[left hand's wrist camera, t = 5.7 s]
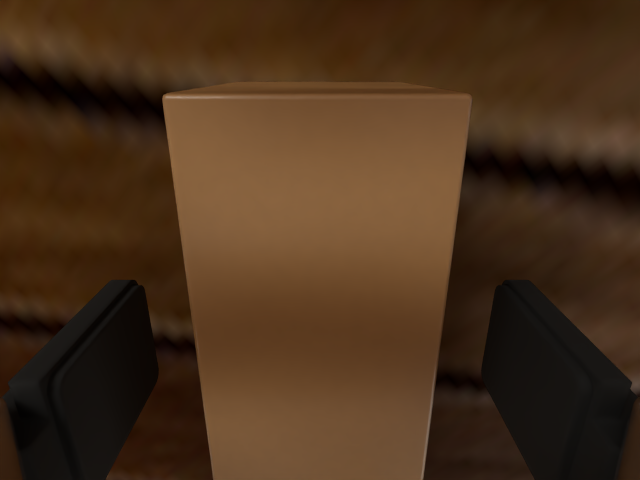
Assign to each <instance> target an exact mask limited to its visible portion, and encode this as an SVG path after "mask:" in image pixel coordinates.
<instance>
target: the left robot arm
mask: <svg viewBox="0 0 640 480" xmlns="http://www.w3.org/2000/svg"><path fill="white" fill-rule="evenodd" d="M158 371H159V370H158V363H157V357H156V351H155V346H154V340H153V334H152V328H151V323H150V317H149V311H148V305H147V300H146V294H145V289H144V287H143V286H142V285H138V284H137V282H136V281H135V280H111V281H110V282H109V283H108V284H107V285H106V286H105V287H104V288H103V289H102V290H101V291H100V292H99V293H97V294H96V295H95V296H94V297H93V298H92V299H91V300H90V301H89V302H88V303H87V304H86V305H85V306H84V307H83V308H82V309H81V310H80V311H79V312H78V313H77V314H76V315H75V316H74V317H73V318H72V319H71V320H70V321H69V322H68V323H67V324H66V325H65V326H64V327H63V328H62V329H61V330H60V331H59V332H58V333H57V334H56V335H55V336H54V337H53V338H52V339H51V340H50V341H49V342H48V343H47V344H46V345H45V346H44V347H43V348H42V349H41V350H40V351H39V352H38V353H37V354H36V355H35V356H34V357H33V358H32V359H31V360H30V361H29V362H28V363H27V364H26V365H25V366H24V367H23V368H22V369H21V370H20V371H19V372H18V373H17V374H16V375H15V376H14V377H13V378H12V379H11V380H10V381H9V382H8V384H9V387H10V390H9V391H8V392H7V393H6V394H5V395H4V396H3V397H2V398H1V397H0V480H105V479H106V477H107V475H108V473H109V471H110V469H111V467H112V466H113V464H114V462H115V460H116V458H117V456H118V454H119V452H120V450H121V448H122V447H123V445H124V443H125V441H126V439H127V437H128V435H129V433H130V431H131V430H132V428H133V426H134V424H135V422H136V420H137V418H138V416H139V414H140V412H141V411H142V409H143V407H144V405H145V403H146V401H147V399H148V397H149V395H150V394H151V392H152V390H153V388H154V386H155V384H156V382H157V379H158ZM481 371H482V379H483V382H484V384H485V386H486V388H487V390H488V392H489V394H490V395H491V397H492V399H493V401H494V403H495V405H496V407H497V409H498V411H499V412H500V414H501V416H502V418H503V420H504V422H505V424H506V426H507V428H508V430H509V431H510V433H511V435H512V437H513V439H514V441H515V443H516V445H517V447H518V448H519V450H520V452H521V454H522V456H523V458H524V460H525V462H526V464H527V466H528V467H529V469H530V471H531V473H532V475H533V477H534V479H535V480H640V397H639V398H638V397H637V396H636V395H635V394H634V393H633V392H632V391H631V390H630V387H631V384H632V382H631V381H630V380H629V379H628V378H627V377H626V376H625V375H624V374H623V373H622V372H621V371H620V370H619V369H618V368H617V367H616V366H615V365H614V364H613V363H612V362H611V361H610V360H609V359H608V358H607V357H606V356H605V355H604V354H603V353H602V352H601V351H600V350H599V349H598V348H597V347H596V346H595V345H594V344H593V343H592V342H591V341H590V340H589V339H588V338H587V337H586V336H585V335H584V334H583V333H582V332H581V331H580V330H579V329H578V328H577V327H576V326H575V325H574V324H573V323H572V322H571V321H570V320H569V319H568V318H567V317H566V316H565V315H564V314H563V313H562V312H561V311H560V310H559V309H558V308H557V307H556V306H555V305H554V304H553V303H552V302H551V301H550V300H549V299H548V298H547V297H546V296H545V295H544V294H543V293H541V292H540V291H539V290H538V289H537V288H536V287H535V286H534V285H533V284H532V283H531V282H530V281H529V280H505V281H504V282H503V284H502V285H498V286H497V287H496V289H495V294H494V300H493V305H492V311H491V317H490V323H489V328H488V334H487V340H486V346H485V351H484V357H483V363H482V370H481Z"/></svg>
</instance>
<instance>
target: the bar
mask: <svg viewBox="0 0 640 480" xmlns="http://www.w3.org/2000/svg"><path fill="white" fill-rule="evenodd" d="M162 101H163V108H164V115H165V123H166V130H167V138H168V145H169V153H170V160H171V168H172V175H173V182H174V190H175V197H176V205H177V212H178V220H179V227H180V235H181V242H182V249H183V257H184V264H185V272H186V279H187V287H188V294H189V302H190V309H191V316H192V324H193V331H194V339H195V346H196V354H197V361H198V368H199V376H200V383H201V391H202V398H203V406H204V413H205V421H206V428H207V435H208V443H209V450H210V458H211V465H212V473H213V480H423V477H424V469H425V461H426V454H427V446H428V438H429V431H430V423H431V415H432V408H433V400H434V392H435V385H436V377H437V369H438V361H439V354H440V346H441V338H442V331H443V323H444V315H445V308H446V300H447V292H448V285H449V277H450V269H451V261H452V254H453V246H454V238H455V231H456V223H457V215H458V208H459V200H460V192H461V185H462V177H463V169H464V161H465V154H466V146H467V138H468V131H469V123H470V115H471V108H472V96H471V95H470V94H468V93H463V92H457V91H451V90H445V89H439V88H433V87H427V86H421V85H415V84H409V83H403V82H234V83H228V84H221V85H215V86H209V87H203V88H196V89H190V90H184V91H178V92H172V93H167V94H165V95H164V96H163V99H162Z"/></svg>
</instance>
